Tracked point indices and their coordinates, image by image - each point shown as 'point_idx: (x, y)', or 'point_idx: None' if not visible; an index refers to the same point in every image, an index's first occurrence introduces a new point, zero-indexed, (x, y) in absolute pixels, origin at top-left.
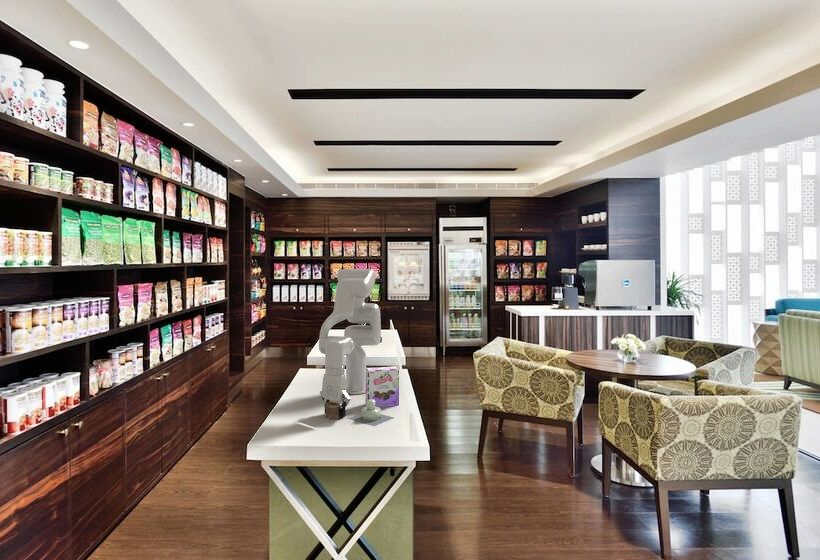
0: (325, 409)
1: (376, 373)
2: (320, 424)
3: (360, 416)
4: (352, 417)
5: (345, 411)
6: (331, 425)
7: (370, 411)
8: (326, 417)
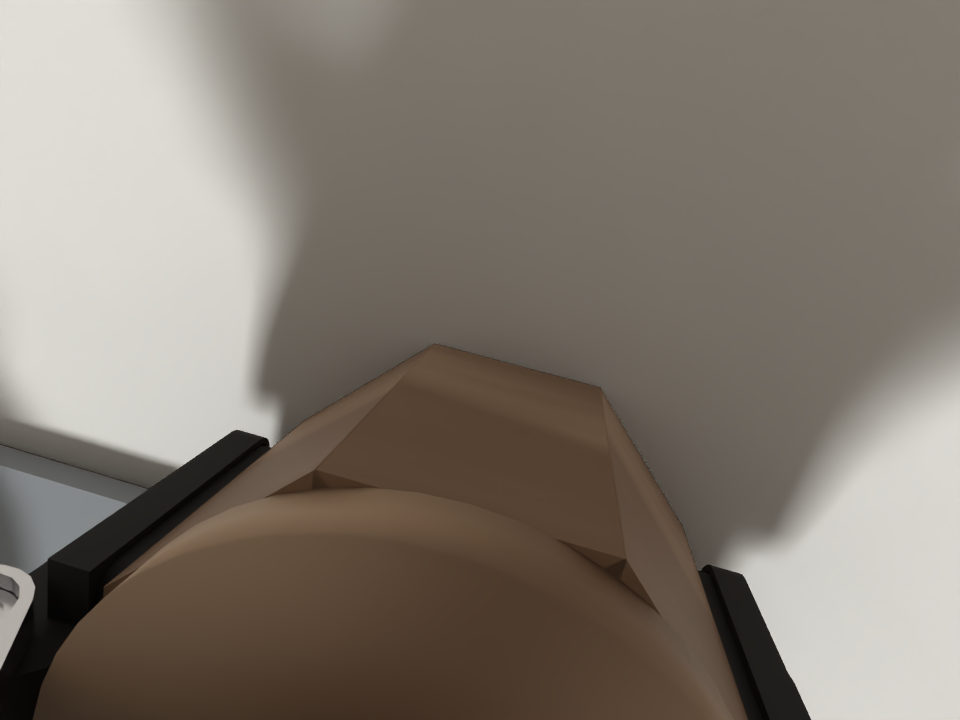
0: (738, 644)
1: None
2: (513, 16)
3: None
4: None
5: None
6: (245, 85)
7: None
8: (571, 393)
